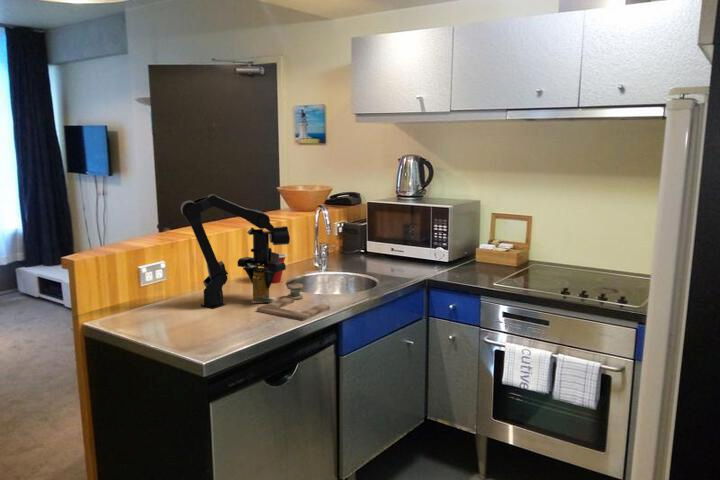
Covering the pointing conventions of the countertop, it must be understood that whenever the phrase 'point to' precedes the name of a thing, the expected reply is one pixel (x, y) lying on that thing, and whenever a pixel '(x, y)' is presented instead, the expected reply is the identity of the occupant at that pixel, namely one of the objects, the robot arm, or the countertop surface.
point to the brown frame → (276, 310)
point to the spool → (295, 291)
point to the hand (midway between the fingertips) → (261, 286)
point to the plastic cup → (278, 274)
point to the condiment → (260, 287)
